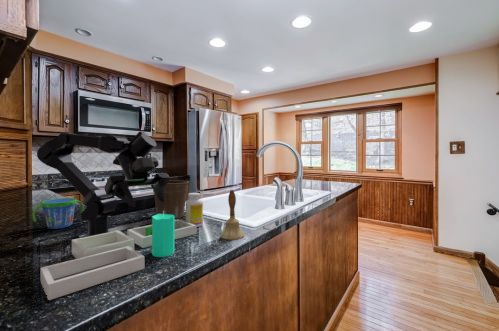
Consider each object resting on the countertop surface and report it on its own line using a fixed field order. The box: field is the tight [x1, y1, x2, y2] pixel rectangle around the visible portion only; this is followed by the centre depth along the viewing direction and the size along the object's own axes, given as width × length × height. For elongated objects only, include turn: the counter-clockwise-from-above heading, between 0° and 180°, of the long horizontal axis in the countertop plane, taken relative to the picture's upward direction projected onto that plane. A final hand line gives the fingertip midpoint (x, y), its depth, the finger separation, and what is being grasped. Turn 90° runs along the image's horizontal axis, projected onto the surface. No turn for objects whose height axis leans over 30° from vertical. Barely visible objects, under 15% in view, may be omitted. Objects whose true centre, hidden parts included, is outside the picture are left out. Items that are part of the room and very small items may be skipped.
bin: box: [71, 230, 135, 259], centre depth 67 cm, size 12×12×4 cm
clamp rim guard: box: [126, 218, 198, 249], centre depth 82 cm, size 12×19×3 cm, turn 137°
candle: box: [151, 211, 176, 258], centre depth 68 cm, size 6×6×12 cm
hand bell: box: [219, 189, 245, 241], centre depth 83 cm, size 8×8×16 cm
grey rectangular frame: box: [39, 246, 146, 301], centre depth 55 cm, size 10×18×3 cm, turn 137°
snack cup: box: [32, 197, 85, 230], centre depth 92 cm, size 16×10×10 cm
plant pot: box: [152, 179, 190, 220], centre depth 110 cm, size 16×16×16 cm
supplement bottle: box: [185, 192, 204, 228], centre depth 95 cm, size 7×7×13 cm
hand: (149, 203), depth 72 cm, fingers open, 9 cm apart
